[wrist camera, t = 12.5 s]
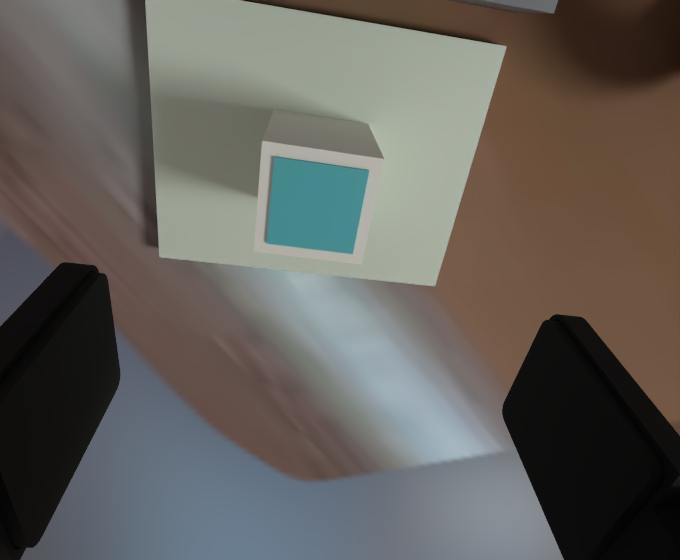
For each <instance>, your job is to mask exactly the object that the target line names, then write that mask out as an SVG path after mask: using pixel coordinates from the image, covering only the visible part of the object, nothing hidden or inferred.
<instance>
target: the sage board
mask: <svg viewBox="0 0 680 560" xmlns="http://www.w3.org/2000/svg"><path fill="white" fill-rule="evenodd" d="M145 5H146V23H147V41H148V59H149V77H150V96H151V114H152V132H153V150H154V168H155V186H156V204H157V222H158V240H159V257H163V258H172V259H182V260H191V261H201V262H210V263H219V264H229V265H238V266H248V267H257V268H267V269H276V270H286V271H295V272H305V273H314V274H324V275H333V276H343V277H352V278H362V279H371V280H380V281H390V282H399V283H409V284H418V285H428V286H435V284H436V281H437V278H438V274H439V271H440V268H441V264H442V261H443V258H444V254H445V251H446V248H447V244H448V241H449V238H450V234H451V231H452V228H453V224H454V221H455V217H456V214H457V211H458V207H459V204H460V201H461V197H462V194H463V191H464V187H465V184H466V181H467V177H468V174H469V171H470V167H471V164H472V161H473V157H474V154H475V151H476V147H477V144H478V141H479V137H480V134H481V131H482V127H483V124H484V121H485V117H486V114H487V110H488V107H489V104H490V100H491V97H492V94H493V90H494V87H495V84H496V80H497V77H498V74H499V70H500V67H501V64H502V60H503V57H504V54H505V50H506V47H507V46H502V45H497V44H491V43H486V42H480V41H474V40H468V39H462V38H457V37H451V36H445V35H439V34H434V33H428V32H422V31H416V30H410V29H405V28H399V27H393V26H387V25H382V24H376V23H370V22H364V21H358V20H353V19H347V18H341V17H335V16H330V15H324V14H318V13H312V12H306V11H301V10H295V9H289V8H283V7H278V6H272V5H266V4H260V3H254V2H249V1H243V0H145ZM274 109H276V110H283V111H289V112H295V113H302V114H308V115H314V116H321V117H327V118H333V119H340V120H346V121H352V122H359V123H365V124H369V127H370V129H371V131H372V133H373V135H374V137H375V140H376V142H377V144H378V146H379V148H380V150H381V153H382V155H383V157H384V164H383V168H382V173H381V178H380V183H379V187H378V192H377V197H376V201H375V206H374V211H373V216H372V220H371V225H370V230H369V234H368V239H367V244H366V249H365V253H364V258H363V263H362V265H361V264H353V263H344V262H336V261H328V260H319V259H311V258H302V257H294V256H286V255H277V254H269V253H260V252H254V241H255V228H256V215H257V201H258V188H259V174H260V161H261V148H262V139H263V137H264V134H265V132H266V129H267V127H268V124H269V121H270V119H271V116H272V114H273V111H274Z"/></svg>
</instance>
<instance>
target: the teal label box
mask: <svg viewBox="0 0 680 560" xmlns="http://www.w3.org/2000/svg"><path fill="white" fill-rule="evenodd" d="M383 164H384V157H383V155H382V153H381V150H380V148H379V146H378V144H377V142H376V140H375V137H374V135H373V133H372V131H371V129H370V127H369V124H365V123H359V122H352V121H346V120H340V119H333V118H327V117H321V116H314V115H308V114H302V113H295V112H289V111H283V110H276V109H274V111H273V114H272V116H271V119H270V121H269V124H268V127H267V129H266V132H265V134H264V137H263V139H262V148H261V161H260V174H259V188H258V201H257V215H256V228H255V241H254V252H260V253H269V254H277V255H286V256H294V257H302V258H311V259H319V260H328V261H336V262H344V263H353V264H361V265H362V263H363V258H364V253H365V249H366V244H367V239H368V234H369V230H370V225H371V220H372V216H373V211H374V206H375V201H376V197H377V192H378V187H379V183H380V178H381V173H382V168H383Z"/></svg>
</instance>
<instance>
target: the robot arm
mask: <svg viewBox="0 0 680 560" xmlns="http://www.w3.org/2000/svg"><path fill="white" fill-rule="evenodd" d="M119 380H120V367H119V359H118V351H117V344H116V337H115V329H114V322H113V315H112V307H111V300H110V293H109V285H108V279H107V276H106V275H105V274H103V273H99V271H98V269H97V267H96V266H94V265H86V264H76V263H67V262H65V263H61V264H60V265H59V266H58V267H57V268H56V269H55V270H54V271H53V272H52V273H51V274H50V275H49V276H48V277H47V278H46V279H45V280H44V281H43V283H42V284H41V285H40V286H39V287H38V288H37V289H36V290H35V291H34V292H33V293H32V294H31V295H30V296H29V297H28V298H27V299H26V300H25V301H24V302H23V303H22V305H21V306H20V307H19V308H18V309H17V310H16V311H15V312H14V313H13V314H12V315H11V316H10V317H9V318H8V319H7V320H6V321H5V322H4V323H3V324H2V326H0V560H20V559H21V557H22V555H23V553H24V551H25V549H26V547H29V548H33V547H34V546H35V545H37V543H38V542H39V541H40V539H41V537H42V536H43V534H44V532H45V530H46V527H47V526H48V524H49V522H50V520H51V518H52V516H53V514H54V512H55V510H56V508H57V506H58V504H59V502H60V500H61V498H62V496H63V494H64V492H65V490H66V488H67V487H68V485H69V483H70V480H71V479H72V477H73V475H74V472H75V471H76V469H77V467H78V465H79V463H80V461H81V459H82V457H83V455H84V453H85V451H86V449H87V447H88V445H89V443H90V441H91V439H92V437H93V435H94V434H95V432H96V430H97V428H98V426H99V424H100V422H101V420H102V418H103V416H104V414H105V412H106V410H107V408H108V406H109V404H110V402H111V400H112V398H113V396H114V394H115V392H116V390H117V388H118V385H119ZM502 413H503V418H504V421H505V424H506V426H507V428H508V431H509V433H510V435H511V438H512V440H513V442H514V445H515V447H516V449H517V452H518V454H519V456H520V458H521V460H522V463H523V465H524V468H525V470H526V472H527V474H528V477H529V479H530V482H531V484H532V486H533V489H534V491H535V493H536V496H537V498H538V500H539V502H540V505H541V507H542V510H543V512H544V514H545V516H546V519H547V521H548V524H549V526H550V528H551V531H552V533H553V535H554V537H555V540H556V542H557V544H558V547H559V549H560V551H561V554H562V556H563V558H564V560H680V436H679V435H678V433H677V432H676V431H675V430H674V428H673V427H672V426H671V425H670V423H669V422H668V421H667V420H666V419H665V417H664V416H663V415H662V414H661V412H660V411H659V410H658V409H657V407H656V406H655V405H654V404H653V402H652V401H651V400H650V399H649V398H648V396H647V395H646V394H645V393H644V391H643V390H642V389H641V388H640V386H639V385H638V384H637V383H636V381H635V380H634V379H633V378H632V377H631V375H630V374H629V373H628V372H627V370H626V369H625V368H624V367H623V365H622V364H621V363H620V362H619V361H618V359H617V358H616V357H615V356H614V354H613V353H612V352H611V351H610V349H609V348H608V347H607V346H606V344H605V343H604V342H603V341H602V340H601V338H600V337H599V336H598V335H597V333H596V332H595V331H594V330H593V328H592V327H591V326H590V325H589V323H588V322H587V321H586V320H585V319H584V318H582V317H577V316H567V315H558V314H557V315H553V316H552V317H551V318H550V319H549V320H545V321H544V322H543V323H542V325H541V327H540V329H539V331H538V333H537V335H536V337H535V339H534V341H533V343H532V345H531V347H530V349H529V352H528V354H527V356H526V358H525V360H524V362H523V364H522V366H521V368H520V370H519V372H518V374H517V376H516V379H515V381H514V383H513V385H512V387H511V389H510V391H509V393H508V395H507V397H506V399H505V401H504V404H503V409H502Z"/></svg>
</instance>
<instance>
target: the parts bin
mask: <svg viewBox="0 0 680 560" xmlns="http://www.w3.org/2000/svg"><path fill="white" fill-rule="evenodd" d="M450 1H456V2H461V3H467V4H472V5H478V6H483V7H489V8H494V9H500V10H505V11H511V12H521V13H553V14H554V12H555V9H556V6H557V3H558V0H450Z"/></svg>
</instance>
